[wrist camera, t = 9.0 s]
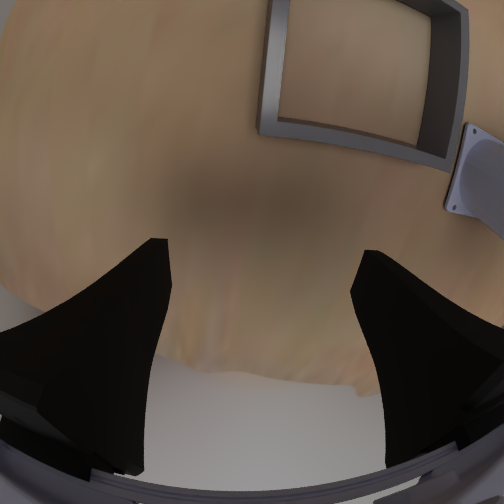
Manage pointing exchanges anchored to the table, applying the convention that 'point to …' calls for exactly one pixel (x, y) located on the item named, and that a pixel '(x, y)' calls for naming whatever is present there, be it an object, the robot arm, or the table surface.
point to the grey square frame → (426, 152)
